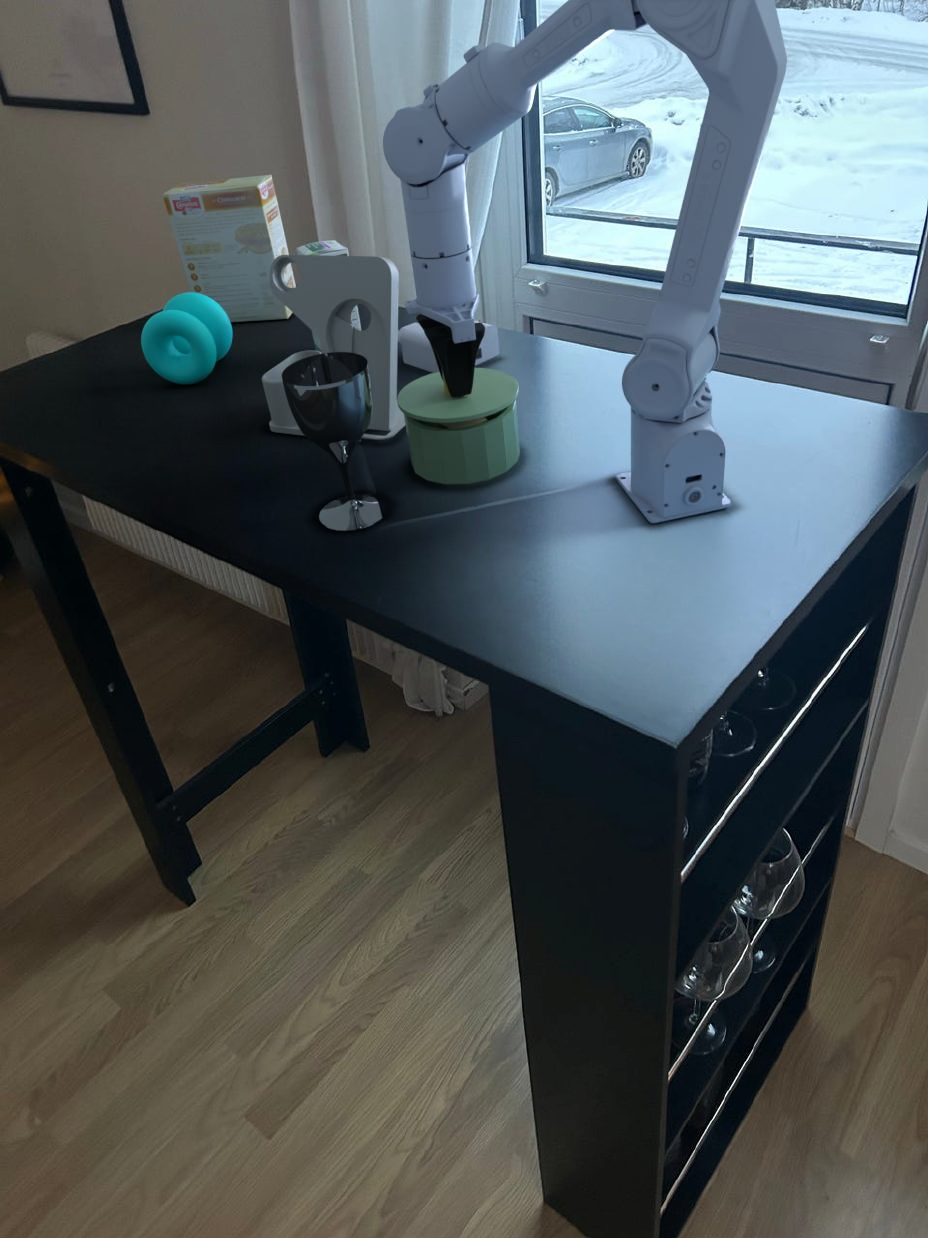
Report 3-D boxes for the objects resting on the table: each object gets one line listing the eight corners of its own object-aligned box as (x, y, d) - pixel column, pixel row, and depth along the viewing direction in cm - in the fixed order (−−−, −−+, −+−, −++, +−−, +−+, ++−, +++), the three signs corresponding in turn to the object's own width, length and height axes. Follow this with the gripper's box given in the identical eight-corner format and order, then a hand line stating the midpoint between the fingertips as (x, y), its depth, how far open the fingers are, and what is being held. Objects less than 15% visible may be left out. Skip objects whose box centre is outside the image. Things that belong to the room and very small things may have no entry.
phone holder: (263, 430, 111) (223, 278, 100) (308, 396, 118) (276, 250, 107) (388, 445, 104) (360, 283, 93) (429, 407, 111) (407, 252, 100)
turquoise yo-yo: (243, 357, 132) (224, 286, 126) (221, 385, 124) (200, 311, 118) (177, 361, 133) (156, 292, 127) (151, 389, 125) (127, 317, 119)
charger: (427, 336, 130) (500, 358, 121) (376, 357, 126) (447, 382, 116) (423, 302, 128) (497, 322, 118) (370, 323, 123) (442, 345, 113)
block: (491, 458, 98) (487, 419, 95) (460, 471, 96) (455, 431, 93) (470, 446, 100) (466, 407, 98) (439, 458, 99) (434, 419, 96)
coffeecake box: (301, 304, 148) (273, 173, 137) (288, 319, 143) (258, 184, 131) (213, 310, 151) (179, 181, 139) (198, 325, 145) (160, 193, 134)
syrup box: (315, 353, 130) (292, 246, 121) (354, 343, 131) (335, 237, 123) (327, 365, 125) (305, 256, 117) (367, 355, 127) (348, 245, 118)
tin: (532, 475, 94) (528, 417, 91) (424, 497, 93) (415, 439, 89) (504, 430, 104) (499, 376, 100) (405, 450, 102) (396, 395, 98)
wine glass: (354, 485, 97) (326, 346, 88) (409, 503, 92) (386, 359, 84) (298, 519, 92) (263, 377, 83) (354, 540, 88) (323, 392, 79)
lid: (533, 413, 90) (530, 367, 87) (409, 438, 89) (402, 392, 86) (502, 369, 100) (498, 326, 97) (390, 390, 98) (383, 347, 96)
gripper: (386, 238, 91) (406, 370, 99) (412, 278, 79) (432, 424, 87) (456, 226, 91) (470, 358, 99) (491, 264, 80) (504, 410, 88)
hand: (457, 388), depth 93 cm, fingers closed on lid, 2 cm apart
